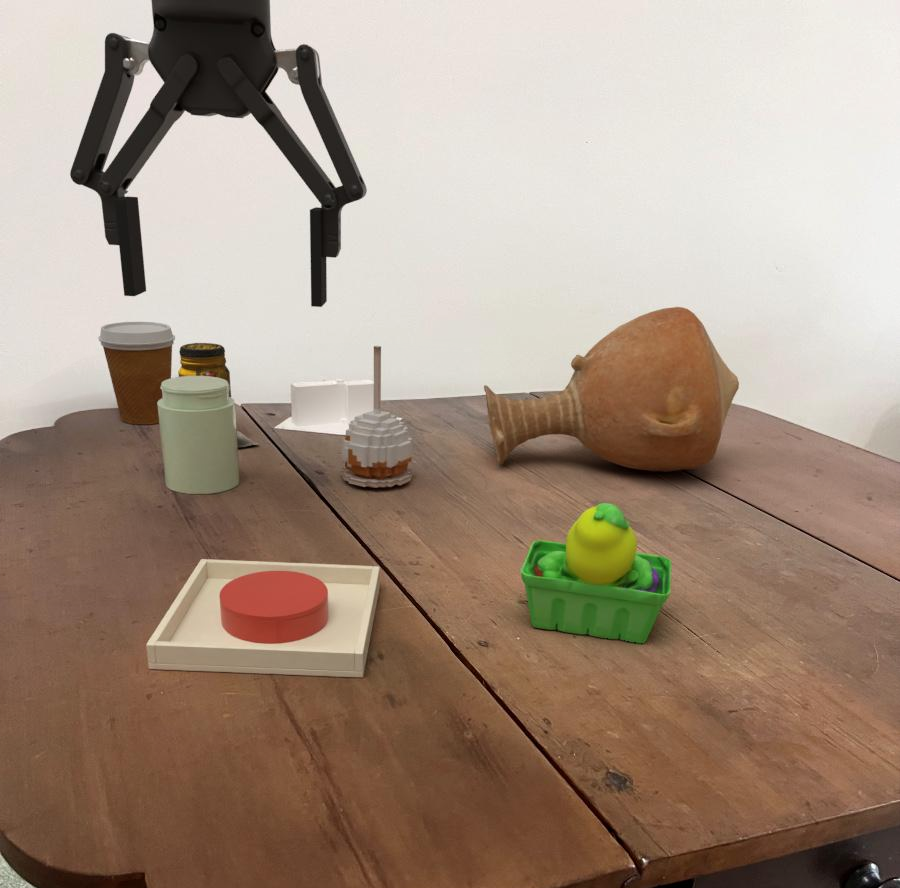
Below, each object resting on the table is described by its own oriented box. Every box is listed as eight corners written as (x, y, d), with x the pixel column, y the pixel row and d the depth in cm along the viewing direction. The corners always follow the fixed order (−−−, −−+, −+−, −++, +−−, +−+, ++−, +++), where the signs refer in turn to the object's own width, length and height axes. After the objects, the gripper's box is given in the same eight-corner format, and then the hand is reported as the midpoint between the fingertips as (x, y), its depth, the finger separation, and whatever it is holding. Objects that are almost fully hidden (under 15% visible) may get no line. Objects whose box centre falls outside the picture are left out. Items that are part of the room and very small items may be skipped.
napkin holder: (272, 428, 122) (271, 385, 120) (301, 408, 132) (300, 368, 130) (381, 438, 120) (382, 395, 117) (403, 417, 130) (403, 377, 127)
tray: (148, 669, 65) (145, 644, 64) (202, 580, 79) (200, 558, 78) (362, 677, 65) (362, 653, 64) (379, 587, 79) (380, 566, 78)
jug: (783, 400, 96) (499, 427, 95) (736, 499, 113) (495, 523, 112) (736, 263, 105) (477, 287, 104) (699, 374, 122) (475, 395, 121)
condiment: (173, 440, 116) (164, 342, 110) (238, 432, 120) (232, 338, 115) (193, 455, 110) (184, 353, 105) (259, 446, 114) (254, 348, 109)
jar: (155, 492, 98) (145, 389, 93) (176, 469, 105) (167, 373, 100) (230, 495, 98) (224, 393, 93) (246, 472, 105) (240, 376, 100)
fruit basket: (663, 611, 77) (683, 483, 72) (660, 662, 69) (683, 521, 64) (528, 593, 79) (539, 467, 74) (511, 640, 71) (522, 503, 66)
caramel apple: (367, 466, 109) (368, 336, 103) (423, 478, 106) (427, 345, 99) (328, 483, 103) (325, 346, 96) (386, 496, 100) (387, 356, 93)
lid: (334, 640, 69) (334, 612, 68) (222, 648, 67) (220, 620, 66) (322, 593, 76) (321, 567, 75) (220, 599, 74) (218, 573, 73)
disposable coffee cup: (93, 418, 123) (81, 326, 117) (151, 406, 130) (142, 318, 125) (139, 432, 118) (129, 336, 113) (197, 418, 125) (189, 327, 120)
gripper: (407, -27, 62) (399, 300, 71) (37, -48, 62) (78, 282, 71) (400, -47, 55) (391, 316, 65) (-15, -72, 55) (37, 296, 64)
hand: (227, 299), depth 68 cm, fingers open, 13 cm apart
